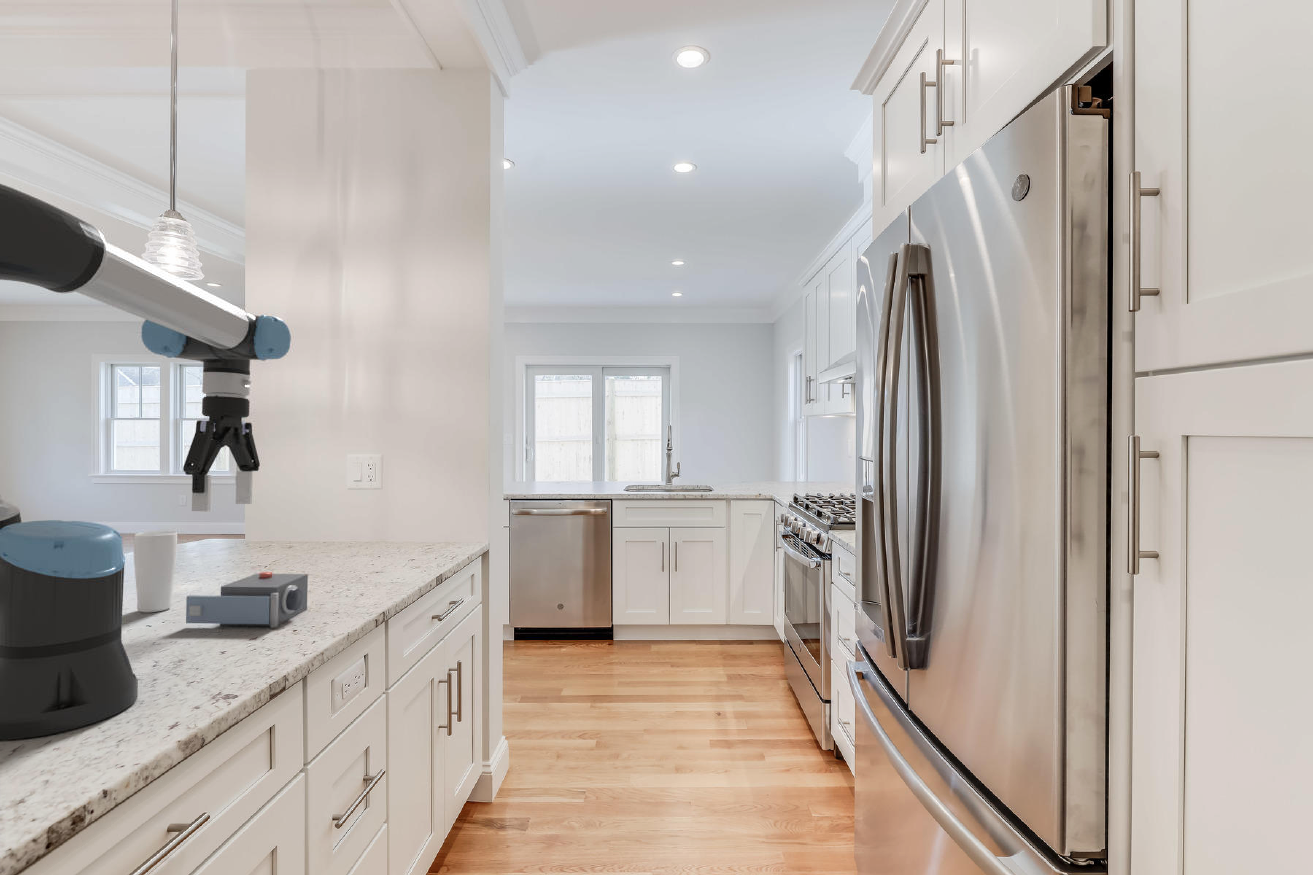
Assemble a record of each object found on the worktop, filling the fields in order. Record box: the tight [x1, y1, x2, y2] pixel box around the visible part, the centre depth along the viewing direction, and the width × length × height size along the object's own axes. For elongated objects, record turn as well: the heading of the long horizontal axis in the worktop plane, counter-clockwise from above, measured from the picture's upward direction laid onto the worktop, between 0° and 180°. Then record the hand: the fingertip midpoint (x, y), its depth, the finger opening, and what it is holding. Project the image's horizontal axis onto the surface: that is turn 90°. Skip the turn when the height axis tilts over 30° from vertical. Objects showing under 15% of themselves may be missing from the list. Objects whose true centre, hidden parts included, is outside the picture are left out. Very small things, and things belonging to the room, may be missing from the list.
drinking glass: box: [133, 530, 179, 614], centre depth 125 cm, size 7×7×15 cm
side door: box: [185, 593, 279, 629], centre depth 114 cm, size 2×16×6 cm, turn 92°
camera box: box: [219, 571, 309, 627], centre depth 121 cm, size 11×12×8 cm
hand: (223, 507), depth 122 cm, fingers open, 13 cm apart
